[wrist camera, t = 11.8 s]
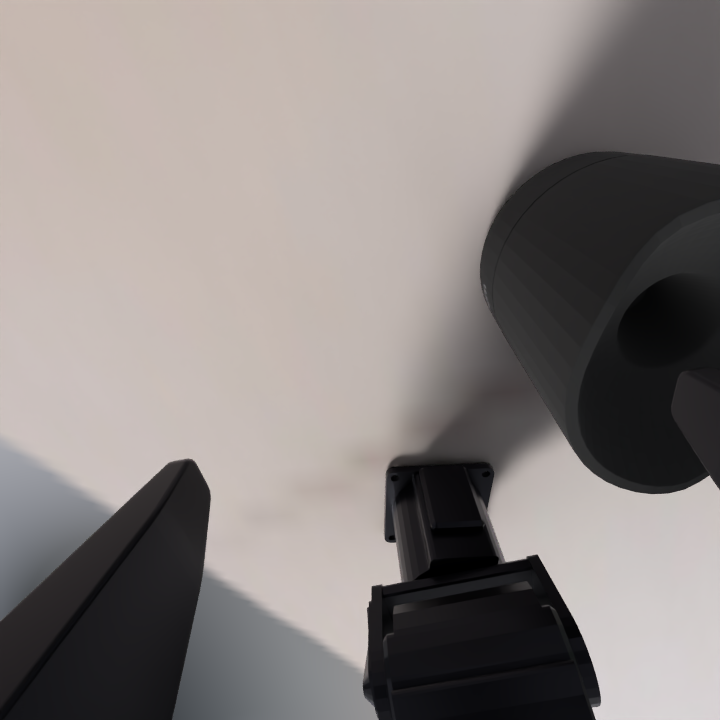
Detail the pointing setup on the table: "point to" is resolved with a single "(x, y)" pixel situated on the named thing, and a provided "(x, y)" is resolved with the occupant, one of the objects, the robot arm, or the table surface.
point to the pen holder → (612, 304)
